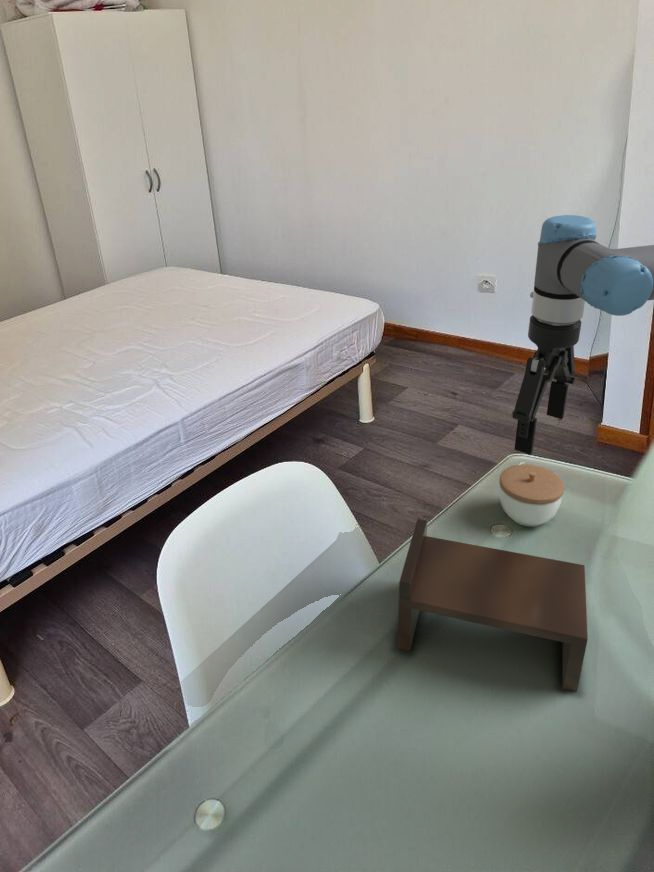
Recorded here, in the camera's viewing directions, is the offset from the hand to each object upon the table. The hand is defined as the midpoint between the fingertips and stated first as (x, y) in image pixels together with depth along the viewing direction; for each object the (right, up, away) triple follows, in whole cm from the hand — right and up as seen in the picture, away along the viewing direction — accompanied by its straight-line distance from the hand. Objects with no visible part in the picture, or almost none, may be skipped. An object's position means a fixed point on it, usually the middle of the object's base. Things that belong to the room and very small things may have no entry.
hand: (539, 433), depth 116 cm
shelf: (-13, -28, -15) cm, 35 cm away
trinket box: (+1, -16, +8) cm, 18 cm away
